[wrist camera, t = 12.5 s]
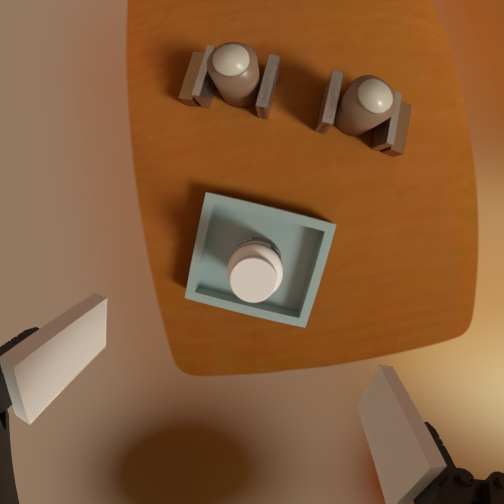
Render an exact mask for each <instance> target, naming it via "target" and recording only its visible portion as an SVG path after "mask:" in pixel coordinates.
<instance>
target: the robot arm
mask: <svg viewBox="0 0 504 504" xmlns="http://www.w3.org/2000/svg"><path fill="white" fill-rule="evenodd" d="M106 312H107V298H106V297H103V296H101V295H98V294H95V293H94V294H92V295H91V296H89V297H88V298H86V299H84V300H83V301H81V302H80V303H78V304H77V305H75V306H73V307H72V308H70V309H69V310H67V311H66V312H65V313H63V314H61V315H60V316H58V317H57V318H55V319H54V320H52V321H51V322H49V323H48V324H46V325H45V326H43V327H42V328H40V329H39V328H37V327H35V328H31V329H28V330H25V331H23V332H22V333H20V334H19V335H18V336H17V337H14V338H13V339H11V341H8V342H7V343H5V344H4V345H2V346H1V347H0V504H19V500H18V495H17V491H16V485H15V479H14V473H13V465H12V457H11V446H10V432H9V414H8V410H7V409H8V408H9V407H10V406H11V405H12V406H13V409H14V412H15V415H16V416H18V417H19V418H21V419H22V420H24V421H25V422H27V423H28V424H31V423H32V422H33V421H34V420H35V419H36V418H37V416H39V414H40V413H41V412H42V411H43V410H44V409H45V408H46V407H47V406H48V405H49V404H50V403H51V402H52V400H54V398H56V396H57V395H58V394H59V393H60V392H61V391H62V390H63V389H64V388H65V387H66V386H67V385H68V384H69V383H70V382H71V381H72V380H73V379H74V378H75V377H76V376H77V375H78V373H80V372H81V370H83V369H84V368H85V366H87V364H88V363H89V362H90V361H91V360H92V359H93V358H94V357H95V356H96V355H97V354H98V353H99V352H100V351H101V350H102V349H103V348H104V347H105V346H106V314H107V313H106ZM357 409H358V412H359V415H360V418H361V422H362V424H363V428H364V431H365V434H366V437H367V440H368V444H369V446H370V450H371V453H372V457H373V460H374V463H375V467H376V470H377V474H378V477H379V480H380V484H381V488H382V491H383V495H384V498H385V502H386V504H410V503H411V502H412V501H414V504H504V473H501V472H493V473H492V474H490V475H489V476H488V478H487V479H486V480H478V479H474V477H473V475H472V474H471V473H470V472H469V471H467V470H465V469H462V468H456V467H455V465H454V463H453V461H452V459H451V457H450V455H449V453H448V451H447V450H446V448H445V446H443V442H442V440H441V439H440V437H439V435H438V433H437V432H436V430H435V429H434V428H433V427H432V426H431V425H430V424H429V423H428V422H424V421H423V419H422V417H421V416H420V414H419V412H418V410H417V409H416V407H415V405H414V403H413V401H412V400H411V398H410V396H409V394H408V393H407V391H406V389H405V387H404V386H403V384H402V382H401V380H400V379H399V377H398V375H397V374H396V372H395V370H394V369H393V367H391V366H384V365H379V366H378V368H377V370H376V372H375V375H374V376H373V378H372V380H371V382H370V385H369V386H368V388H367V390H366V392H365V394H364V396H363V398H362V400H361V401H360V403H359V405H358V407H357Z"/></svg>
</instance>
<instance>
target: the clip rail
mask: <svg viewBox="0 0 504 504" xmlns="http://www.w3.org/2000/svg"><path fill="white" fill-rule="evenodd" d="M214 49H215V46H207V48H206V51H205V52H195V51H193V54H192V57H191V60H190V63H189V66H188V69H187V72H186V75H185V78H184V81H183V85H182V88H181V91H180V94H179V99H180V100H181V101H182V102H183V103H184V104H185V105H188V106H195V107H199V104H200V105H201V106H202V107H203V108H210V105H211V101H212V98H213V94H214V91H215V87H216V85H215V83H214V81H213V80H212V78H211V76H210V74H209V73H208V70H207V60H208V57H209V55H210V54H211V52H212V51H213V50H214ZM279 73H280V56H276V55H271V54H269V58H268V61H267V65H266V68H265V72H264V76H263V79H262V83H261V87H260V91H259V94H258V98H257V102H256V110H257V115H258V118H262V119H267V120H268V117H269V113H270V109H271V105H272V101H273V97H274V93H275V89H276V85H277V81H278V78H279ZM342 78H343V72H340V71H337V70H333V71H332V73H331V75H330V77H329V79H328V81H327V83H326V85H325V89H324V93H323V98H322V102H321V107H320V111H319V116H318V120H317V125H316V129H315V132H319V133H322V134H325V133H326V132H327V131H328V130H329V128H330V127H331V126H332V125H333V122H334V117H335V113H336V108H337V103H338V98H339V93H340V88H341V83H342ZM394 94H395V97H396V109H395V112H394V114H393V115H392V116H391V117H390V118H388V119H387V120H385V121H384V122H382V123H380V124H379V125H377V126H376V127H375V133H374V138H373V143H372V148H371V149H373V150H376V151H379V150H382V151H381V152H382V153H384V154H387V155H390V156H392V157H394V156H398V155H402V154H404V149H405V143H406V137H407V131H408V125H409V119H410V112H411V105H409V104H406V103H404V102H402V101H401V96H402V94H401V93H399V92H396V91H395V92H394Z"/></svg>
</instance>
